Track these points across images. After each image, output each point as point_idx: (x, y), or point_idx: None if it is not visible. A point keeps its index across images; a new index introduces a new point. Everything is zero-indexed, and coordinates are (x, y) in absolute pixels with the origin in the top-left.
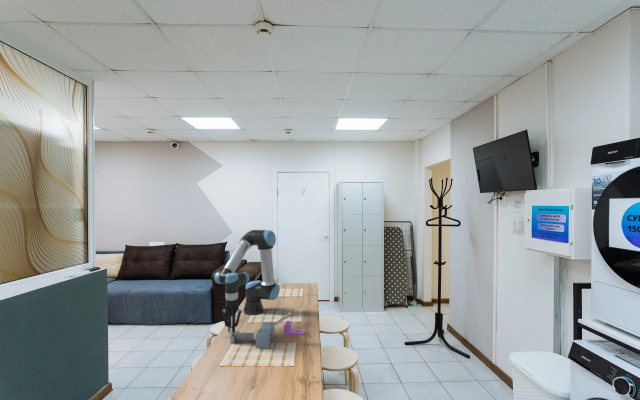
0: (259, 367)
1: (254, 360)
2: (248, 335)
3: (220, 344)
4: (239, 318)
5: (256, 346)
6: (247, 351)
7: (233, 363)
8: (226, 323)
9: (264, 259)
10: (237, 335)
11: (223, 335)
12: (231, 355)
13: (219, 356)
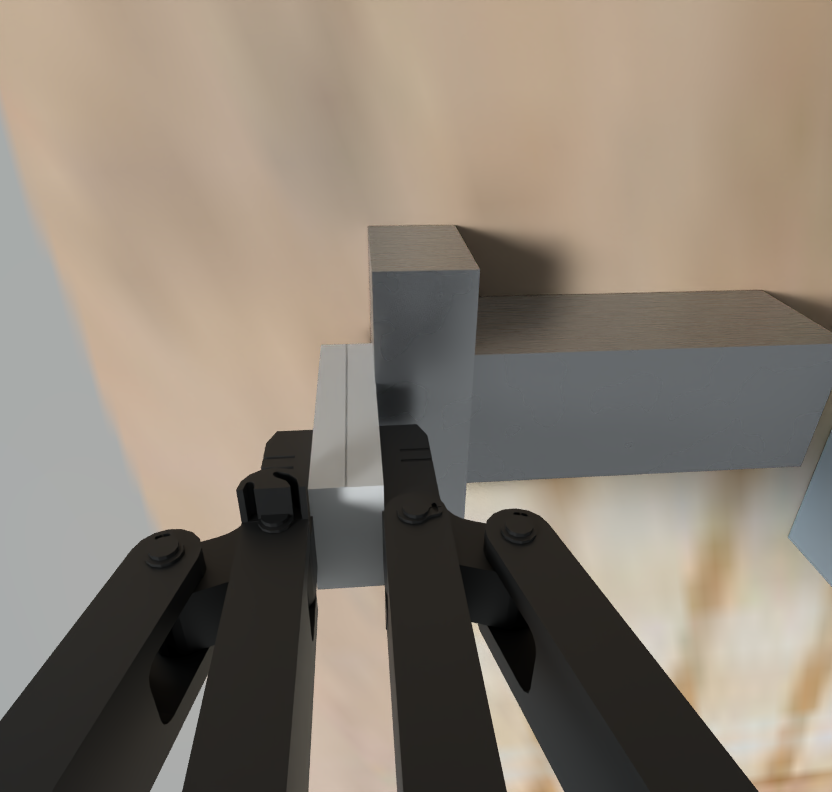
0: (802, 788)
1: (762, 728)
2: (732, 463)
3: (222, 504)
4: (692, 735)
5: (808, 552)
6: (679, 614)
7: None
8: (186, 701)
9: None
10: (503, 477)
11: (27, 136)
12: (506, 696)
13: (376, 724)
